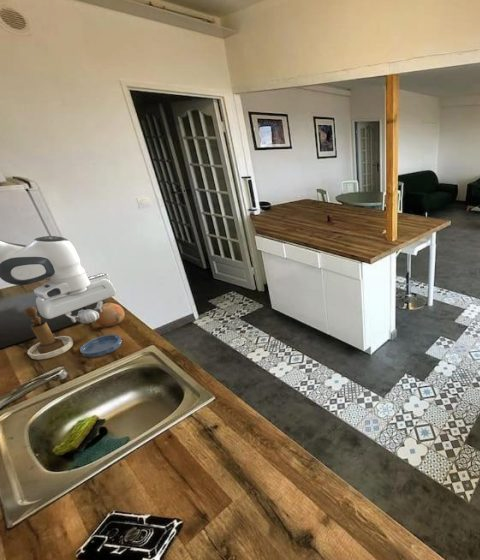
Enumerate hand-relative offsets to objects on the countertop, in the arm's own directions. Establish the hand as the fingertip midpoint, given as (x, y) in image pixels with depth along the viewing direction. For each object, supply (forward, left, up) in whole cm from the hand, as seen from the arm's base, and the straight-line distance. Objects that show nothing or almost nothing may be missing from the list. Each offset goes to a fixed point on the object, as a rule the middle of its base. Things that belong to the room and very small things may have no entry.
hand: (87, 316), depth 111 cm
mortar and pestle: (-9, +15, -14) cm, 22 cm away
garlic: (0, 0, -2) cm, 2 cm away
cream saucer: (-9, +15, -14) cm, 22 cm away
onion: (+10, +15, -14) cm, 23 cm away
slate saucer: (0, 0, -14) cm, 14 cm away
